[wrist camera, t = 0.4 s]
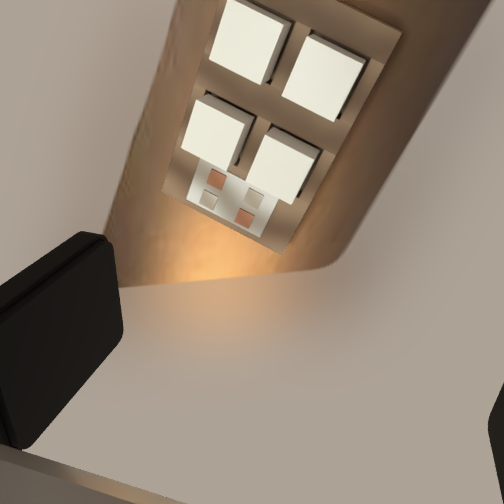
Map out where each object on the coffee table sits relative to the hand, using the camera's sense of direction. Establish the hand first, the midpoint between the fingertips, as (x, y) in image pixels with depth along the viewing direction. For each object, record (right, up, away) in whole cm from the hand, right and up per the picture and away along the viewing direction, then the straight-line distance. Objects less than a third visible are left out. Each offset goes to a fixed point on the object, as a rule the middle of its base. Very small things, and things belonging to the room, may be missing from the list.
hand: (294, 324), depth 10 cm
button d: (+2, +10, +30) cm, 32 cm away
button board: (+1, +14, +31) cm, 34 cm away
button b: (+5, +16, +26) cm, 31 cm away
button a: (-1, +19, +26) cm, 32 cm away
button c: (-4, +13, +30) cm, 33 cm away
